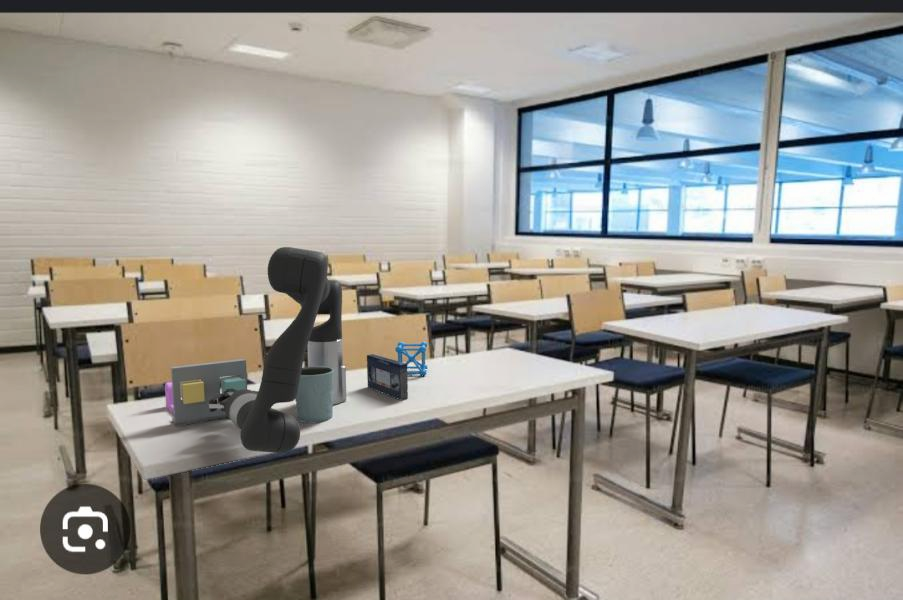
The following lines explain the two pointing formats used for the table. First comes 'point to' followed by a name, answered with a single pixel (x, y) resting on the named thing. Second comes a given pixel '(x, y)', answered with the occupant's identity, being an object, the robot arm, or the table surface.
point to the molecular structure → (413, 356)
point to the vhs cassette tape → (387, 376)
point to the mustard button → (192, 391)
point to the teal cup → (315, 394)
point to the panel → (211, 380)
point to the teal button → (233, 383)
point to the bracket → (169, 395)
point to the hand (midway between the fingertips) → (229, 392)
